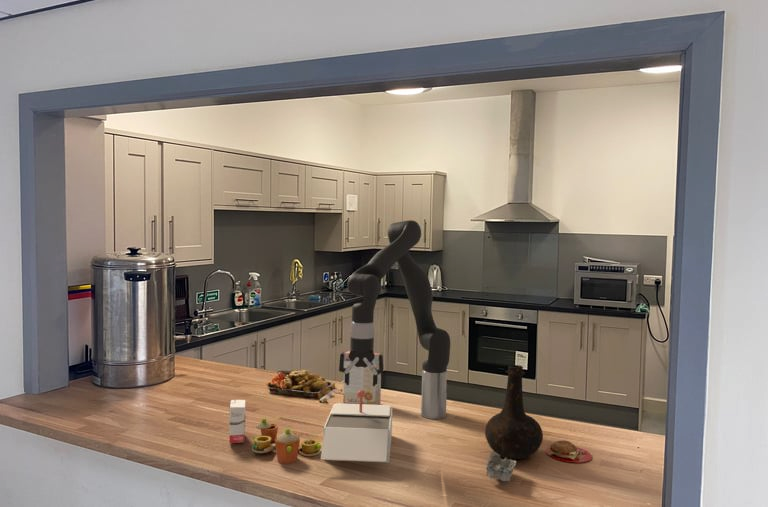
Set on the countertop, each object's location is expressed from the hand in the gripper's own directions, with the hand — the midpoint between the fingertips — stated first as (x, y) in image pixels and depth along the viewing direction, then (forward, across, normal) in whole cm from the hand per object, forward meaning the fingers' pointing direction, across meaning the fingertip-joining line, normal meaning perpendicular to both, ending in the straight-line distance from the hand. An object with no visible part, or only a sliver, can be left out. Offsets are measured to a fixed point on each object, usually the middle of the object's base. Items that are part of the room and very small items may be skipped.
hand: (360, 385), depth 181 cm
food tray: (+20, +31, -56) cm, 67 cm away
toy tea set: (+20, +24, +7) cm, 32 cm away
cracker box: (+20, +3, -40) cm, 45 cm away
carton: (+19, 0, +2) cm, 20 cm away
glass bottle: (+19, -49, +3) cm, 53 cm away
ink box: (+20, +40, -1) cm, 45 cm away
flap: (+9, 0, -8) cm, 13 cm away
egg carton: (+20, -40, +19) cm, 49 cm away
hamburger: (+20, -67, 0) cm, 70 cm away
